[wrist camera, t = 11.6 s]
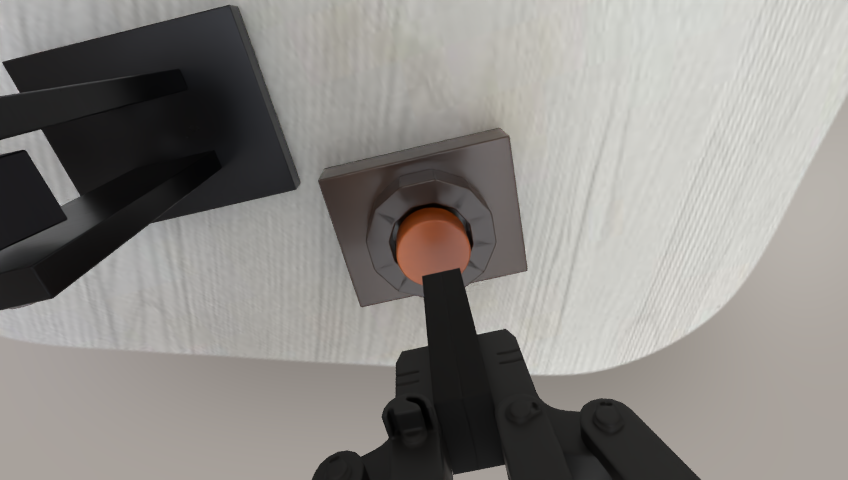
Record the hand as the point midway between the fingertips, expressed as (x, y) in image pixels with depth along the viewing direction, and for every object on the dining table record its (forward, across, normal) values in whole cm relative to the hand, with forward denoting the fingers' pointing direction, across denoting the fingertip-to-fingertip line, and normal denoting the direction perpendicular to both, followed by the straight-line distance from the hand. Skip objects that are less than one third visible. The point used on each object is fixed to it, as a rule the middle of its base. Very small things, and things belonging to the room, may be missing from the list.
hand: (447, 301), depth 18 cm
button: (+6, 0, 0) cm, 6 cm away
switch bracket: (+9, -12, +8) cm, 17 cm away
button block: (+10, 0, 0) cm, 10 cm away
